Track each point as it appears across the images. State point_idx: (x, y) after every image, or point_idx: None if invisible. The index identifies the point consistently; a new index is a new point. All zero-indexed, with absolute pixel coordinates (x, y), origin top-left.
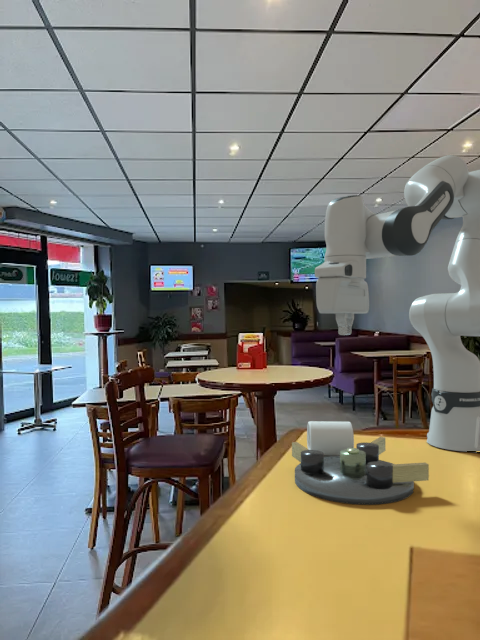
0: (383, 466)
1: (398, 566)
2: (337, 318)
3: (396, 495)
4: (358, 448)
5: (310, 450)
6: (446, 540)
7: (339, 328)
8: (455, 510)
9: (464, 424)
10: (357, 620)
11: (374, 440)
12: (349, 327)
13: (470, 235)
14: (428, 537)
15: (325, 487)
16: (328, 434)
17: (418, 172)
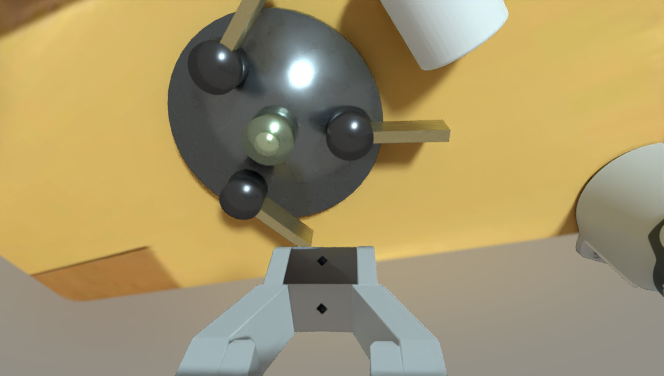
0: (238, 208)
1: (103, 248)
2: (197, 354)
3: None
4: (329, 125)
5: (226, 55)
6: (188, 266)
7: (267, 280)
8: None
9: (620, 253)
10: (9, 249)
11: (407, 131)
12: (338, 326)
13: None
14: (181, 253)
15: (174, 125)
16: (394, 11)
17: None
